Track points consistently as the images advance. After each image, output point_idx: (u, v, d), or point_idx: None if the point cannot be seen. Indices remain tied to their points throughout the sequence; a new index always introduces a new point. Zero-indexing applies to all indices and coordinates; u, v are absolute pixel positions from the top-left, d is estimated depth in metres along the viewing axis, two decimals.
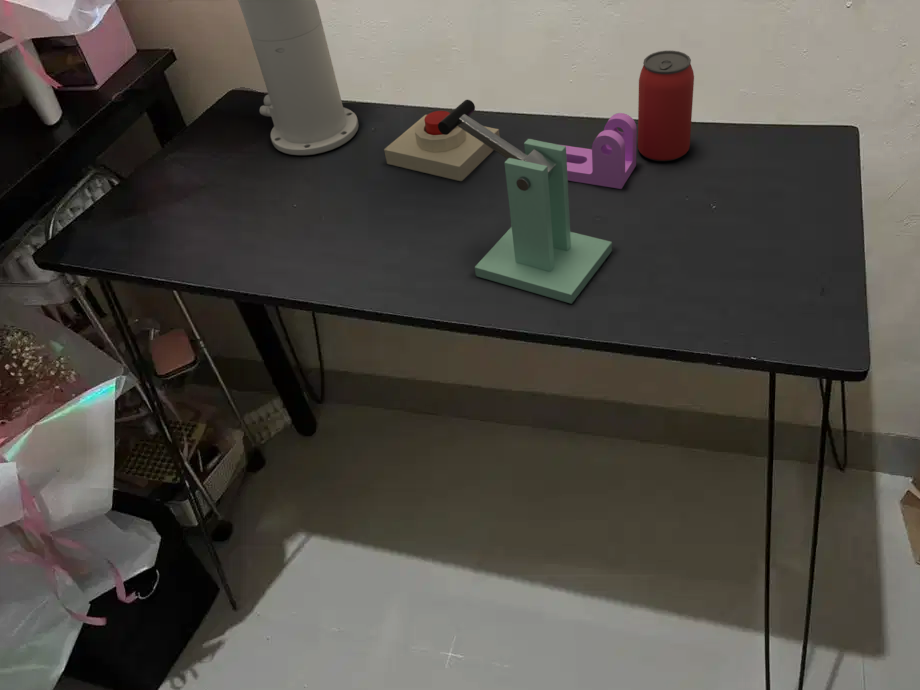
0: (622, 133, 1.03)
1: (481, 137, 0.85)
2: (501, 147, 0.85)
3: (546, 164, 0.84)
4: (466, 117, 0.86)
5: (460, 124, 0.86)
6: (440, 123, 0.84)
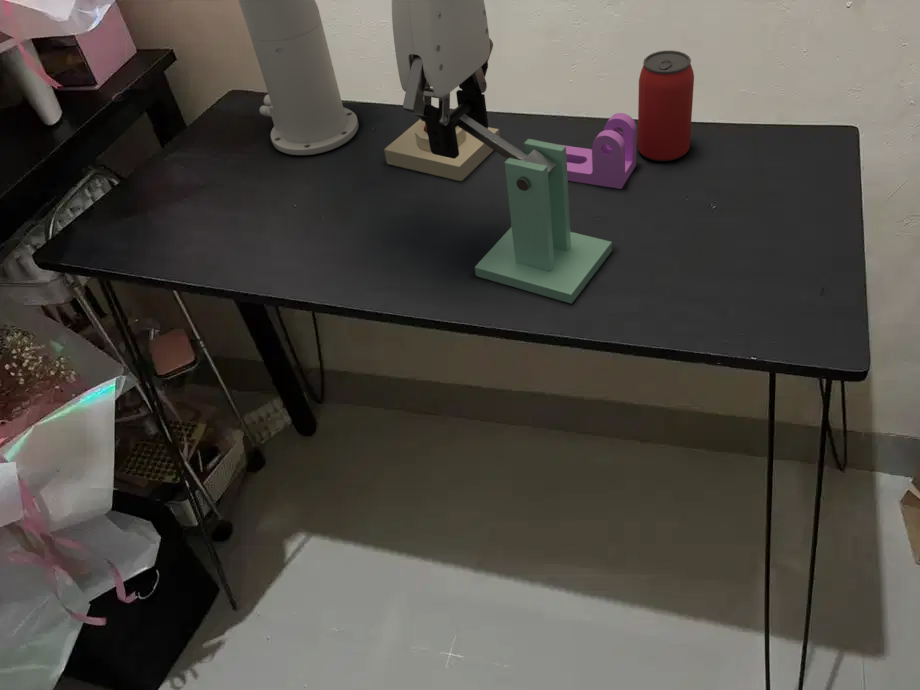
0: (622, 133, 1.03)
1: (481, 137, 0.85)
2: (501, 147, 0.85)
3: (546, 164, 0.84)
4: (466, 117, 0.86)
5: (460, 124, 0.86)
6: None
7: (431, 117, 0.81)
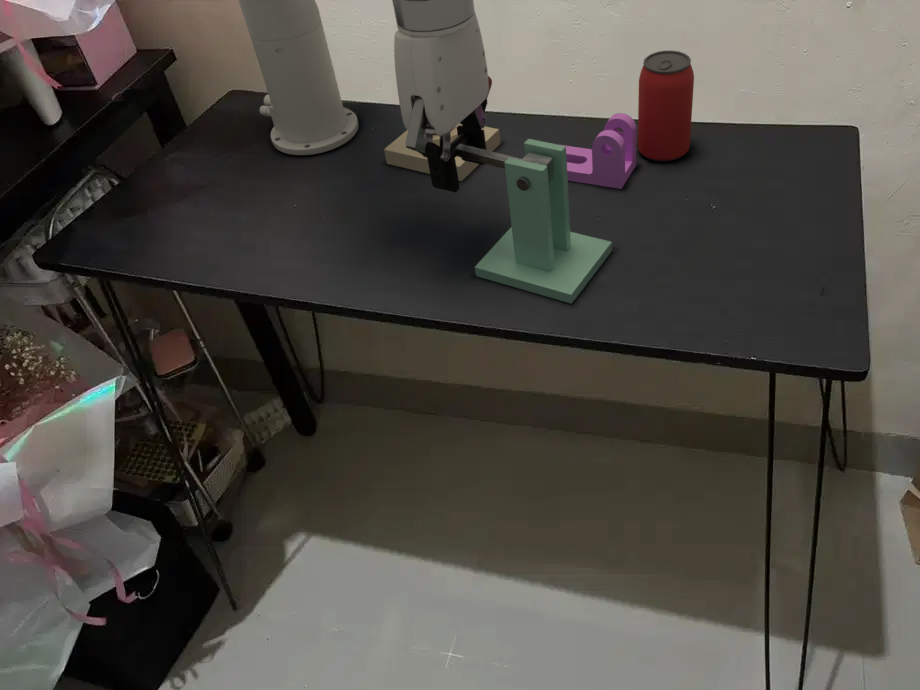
0: (622, 133, 1.03)
1: (479, 158, 0.87)
2: (498, 159, 0.86)
3: (542, 160, 0.84)
4: (462, 145, 0.89)
5: (458, 153, 0.88)
6: None
7: (432, 154, 0.84)
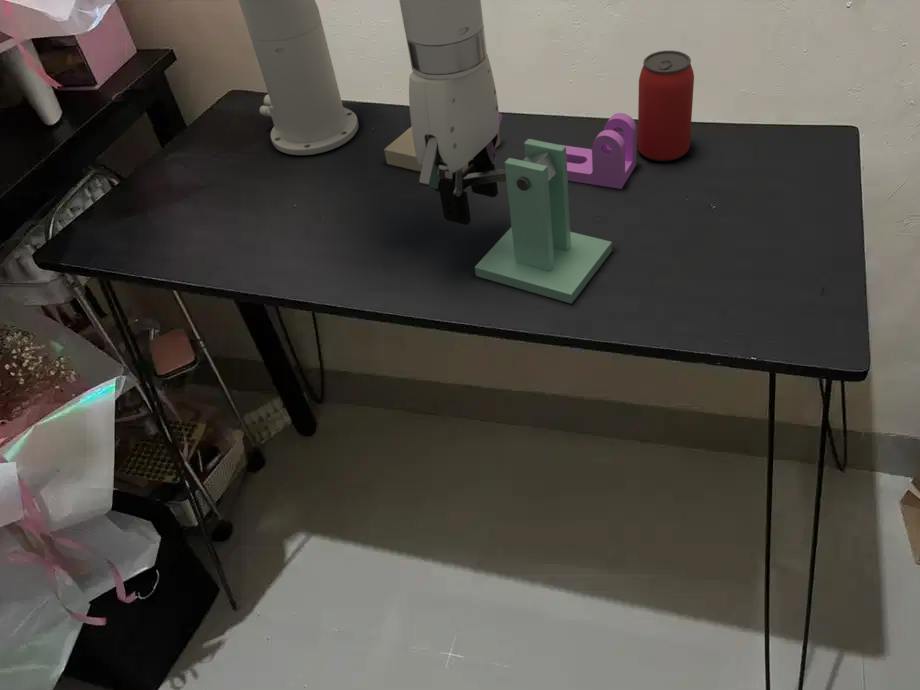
0: (622, 133, 1.03)
1: (485, 180, 0.89)
2: (500, 173, 0.87)
3: (538, 157, 0.84)
4: (469, 174, 0.91)
5: (467, 182, 0.91)
6: None
7: (445, 190, 0.86)
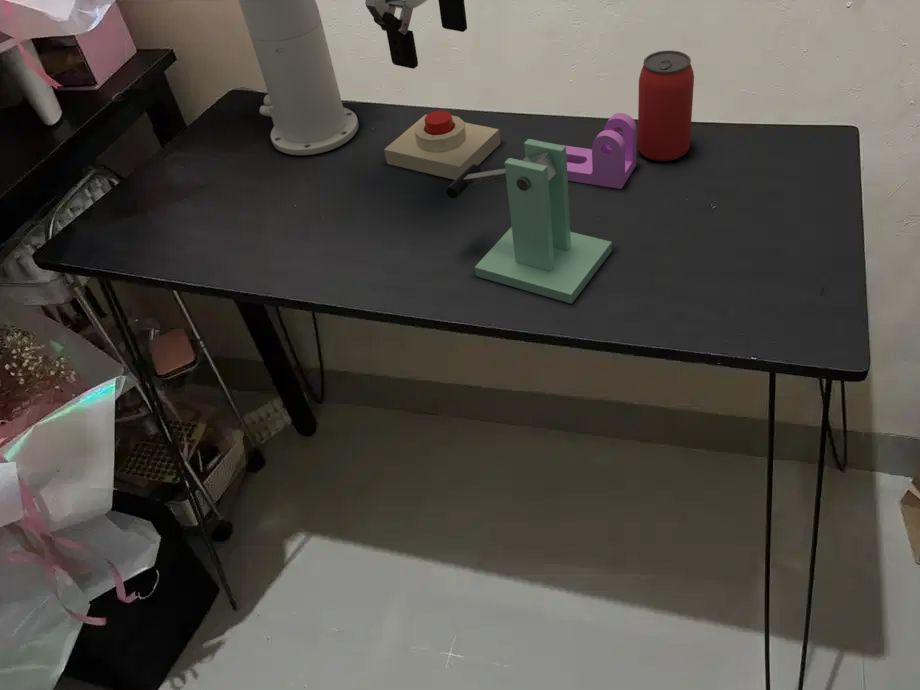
0: (622, 133, 1.03)
1: (485, 180, 0.89)
2: (500, 173, 0.87)
3: (538, 157, 0.84)
4: (469, 175, 0.91)
5: (467, 182, 0.91)
6: (447, 191, 0.90)
7: (390, 25, 0.86)
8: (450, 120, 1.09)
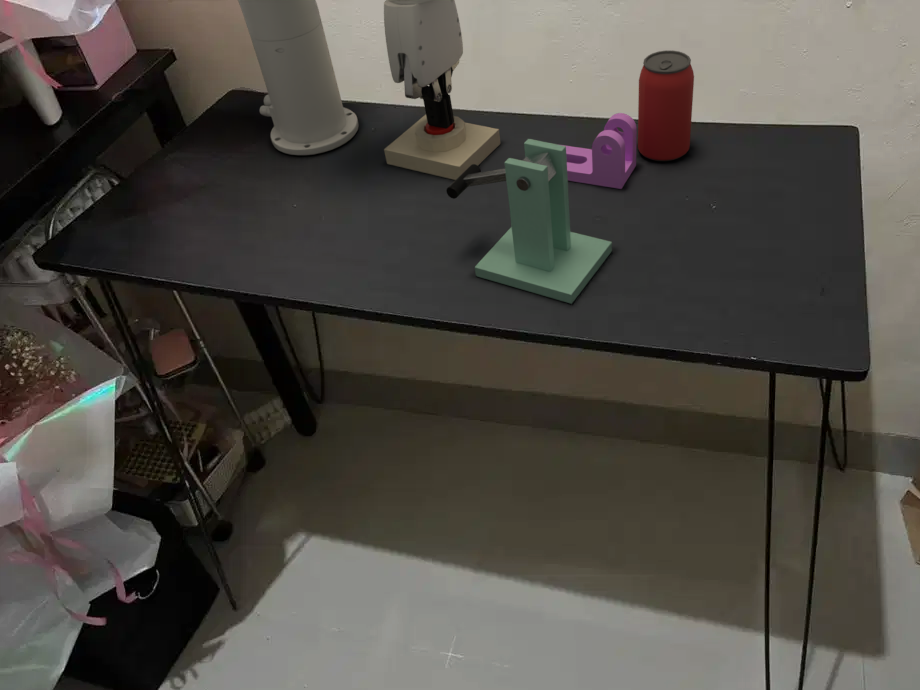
0: (622, 133, 1.03)
1: (485, 180, 0.89)
2: (500, 173, 0.87)
3: (538, 157, 0.84)
4: (469, 175, 0.91)
5: (467, 182, 0.91)
6: (447, 191, 0.90)
7: (427, 95, 1.04)
8: (451, 127, 1.09)
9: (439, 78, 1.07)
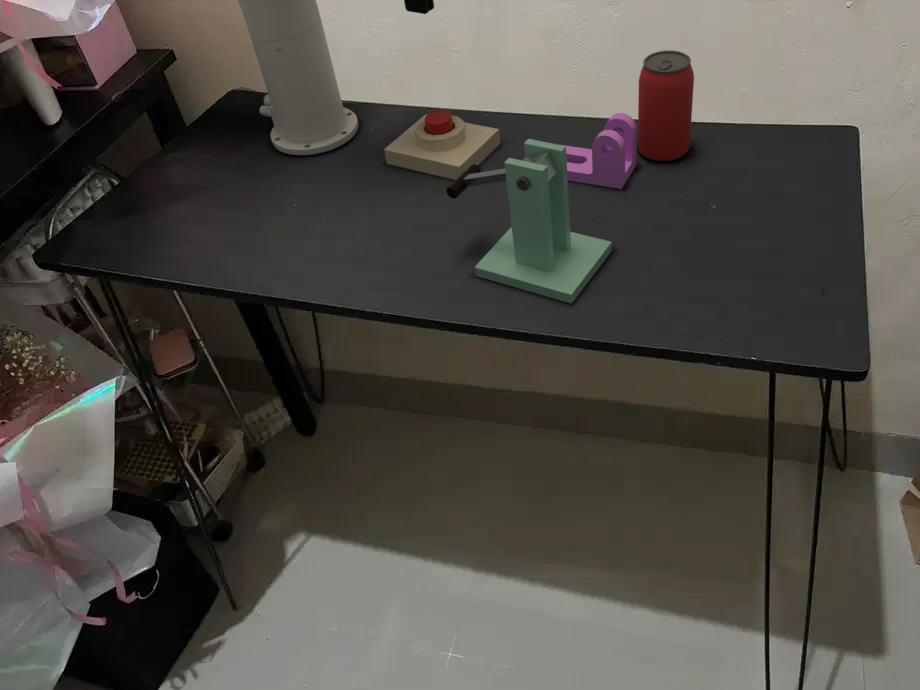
0: (622, 133, 1.03)
1: (485, 180, 0.89)
2: (500, 173, 0.87)
3: (538, 157, 0.84)
4: (469, 175, 0.91)
5: (467, 182, 0.91)
6: (447, 191, 0.90)
7: None
8: (450, 120, 1.09)
9: None
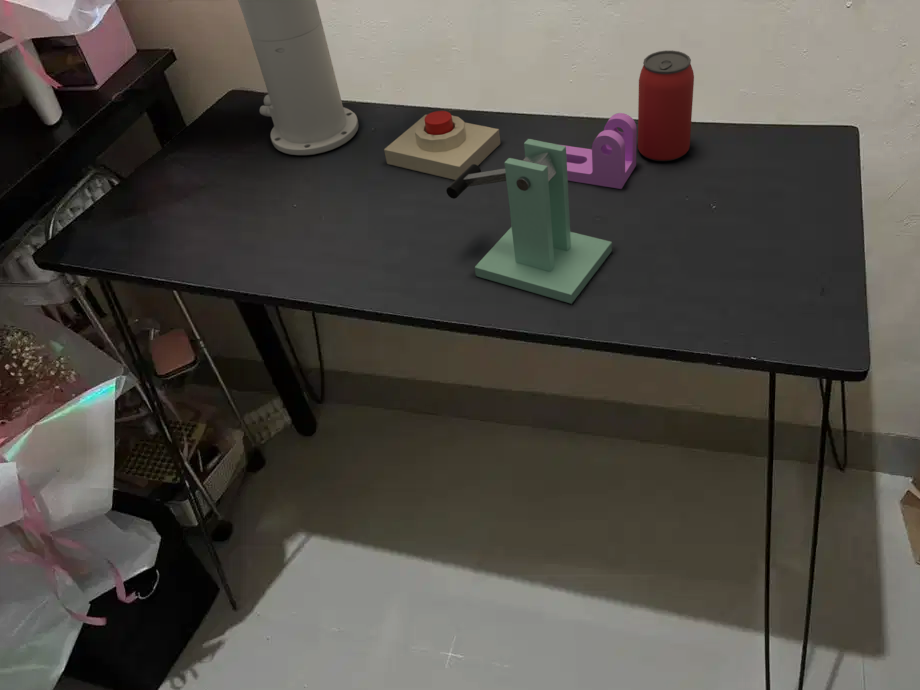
0: (622, 133, 1.03)
1: (485, 180, 0.89)
2: (500, 173, 0.87)
3: (538, 157, 0.84)
4: (469, 175, 0.91)
5: (467, 182, 0.91)
6: (447, 191, 0.90)
7: None
8: (450, 120, 1.09)
9: None
